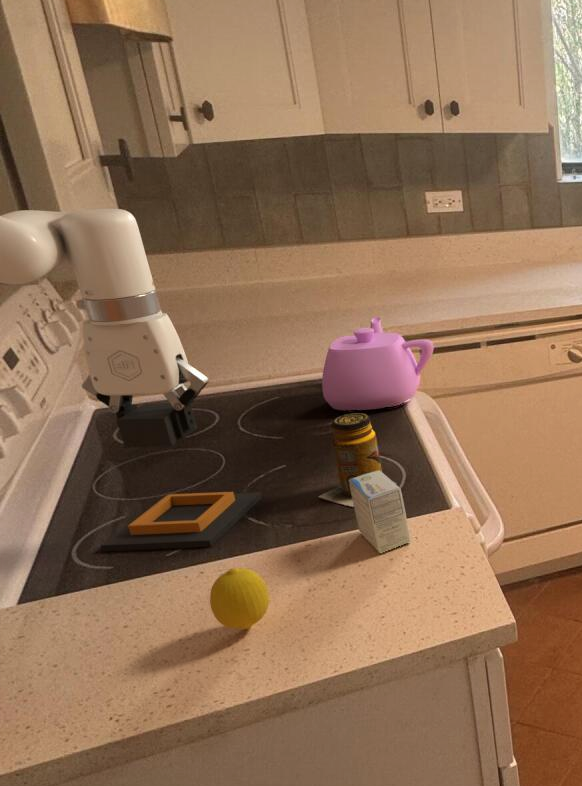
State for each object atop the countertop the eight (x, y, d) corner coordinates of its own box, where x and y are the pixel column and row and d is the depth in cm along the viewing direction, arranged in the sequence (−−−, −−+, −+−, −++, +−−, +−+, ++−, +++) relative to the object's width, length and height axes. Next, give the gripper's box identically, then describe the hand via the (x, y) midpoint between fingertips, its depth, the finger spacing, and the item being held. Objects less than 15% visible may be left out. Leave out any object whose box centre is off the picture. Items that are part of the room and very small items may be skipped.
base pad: (102, 551, 106) (96, 535, 105) (165, 502, 119) (160, 487, 118) (211, 546, 107) (206, 530, 106) (261, 498, 120) (258, 483, 119)
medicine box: (412, 543, 108) (402, 487, 105) (378, 555, 105) (367, 498, 102) (390, 522, 113) (380, 468, 110) (358, 533, 110) (347, 478, 107)
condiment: (397, 484, 124) (385, 414, 120) (353, 507, 117) (338, 434, 113) (363, 475, 127) (350, 407, 123) (318, 498, 120) (302, 426, 116)
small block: (124, 447, 104) (116, 419, 103) (152, 429, 110) (145, 403, 109) (171, 445, 105) (163, 418, 103) (197, 428, 110) (190, 401, 109)
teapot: (436, 410, 154) (425, 336, 149) (319, 420, 149) (303, 344, 144) (448, 373, 175) (438, 308, 169) (345, 381, 170) (332, 314, 164)
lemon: (264, 607, 94) (249, 550, 91) (283, 626, 91) (268, 567, 88) (212, 630, 90) (194, 571, 87) (230, 650, 87) (212, 589, 84)
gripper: (30, 316, 97) (74, 448, 103) (176, 313, 98) (212, 443, 104) (73, 302, 104) (113, 426, 110) (210, 298, 105) (241, 422, 111)
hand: (160, 433), depth 107 cm, fingers closed on small block, 6 cm apart
